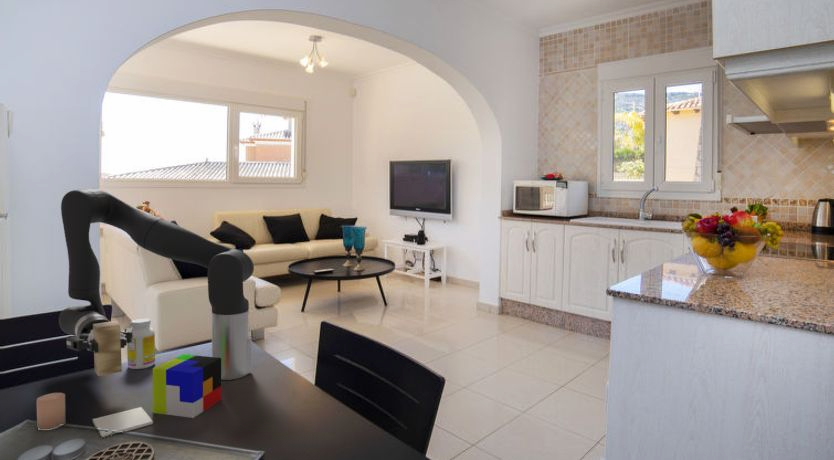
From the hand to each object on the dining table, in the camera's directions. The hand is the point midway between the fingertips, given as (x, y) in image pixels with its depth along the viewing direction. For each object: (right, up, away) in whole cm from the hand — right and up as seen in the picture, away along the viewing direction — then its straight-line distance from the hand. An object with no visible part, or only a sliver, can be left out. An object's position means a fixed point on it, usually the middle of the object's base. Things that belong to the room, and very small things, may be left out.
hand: (110, 345), depth 107 cm
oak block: (-2, -6, +2) cm, 7 cm away
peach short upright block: (-6, -14, -10) cm, 18 cm away
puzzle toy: (+17, -14, +1) cm, 22 cm away
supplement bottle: (-8, -12, +25) cm, 29 cm away
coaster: (+8, -14, -8) cm, 18 cm away
